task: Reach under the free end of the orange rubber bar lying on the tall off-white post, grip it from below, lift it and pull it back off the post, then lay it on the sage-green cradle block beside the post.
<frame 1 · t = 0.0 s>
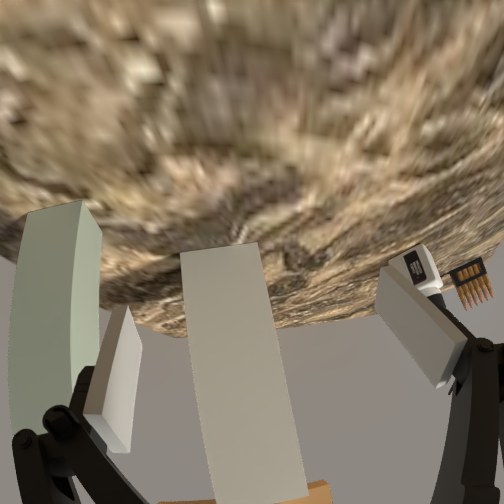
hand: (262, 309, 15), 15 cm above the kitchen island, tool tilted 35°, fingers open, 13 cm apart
cradle: (65, 222, 29), on the kitchen island
post: (220, 261, 44), on the kitchen island
bar: (241, 499, 28), point 32 cm above the kitchen island, touching post
ammunition clip: (464, 264, 71), on the kitchen island
container: (409, 255, 56), on the kitchen island
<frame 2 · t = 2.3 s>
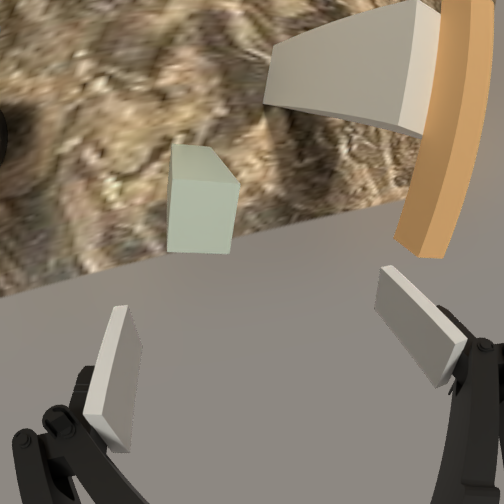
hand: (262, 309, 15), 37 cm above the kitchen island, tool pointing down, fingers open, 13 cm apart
cradle: (188, 167, 47), on the kitchen island
post: (292, 79, 44), on the kitchen island
bar: (442, 109, 18), point 32 cm above the kitchen island, touching post
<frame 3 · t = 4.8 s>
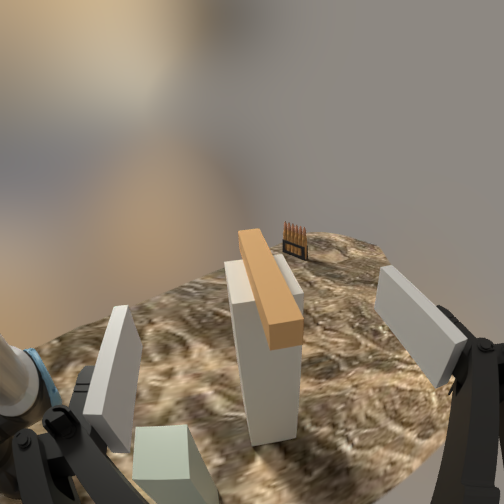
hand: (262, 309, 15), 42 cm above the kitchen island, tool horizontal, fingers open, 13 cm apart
post: (268, 421, 52), on the kitchen island
bar: (264, 286, 36), point 32 cm above the kitchen island, touching post
ammunition clip: (294, 255, 113), on the kitchen island
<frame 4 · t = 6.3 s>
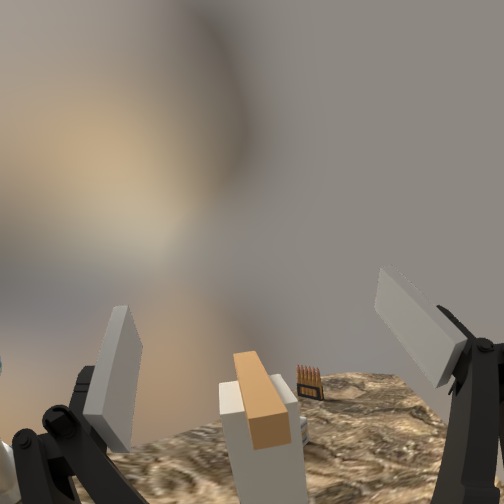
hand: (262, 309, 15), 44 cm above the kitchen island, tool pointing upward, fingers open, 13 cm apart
bar: (256, 399, 31), point 32 cm above the kitchen island, touching post
ammunition clip: (310, 397, 99), on the kitchen island
container: (289, 446, 68), on the kitchen island
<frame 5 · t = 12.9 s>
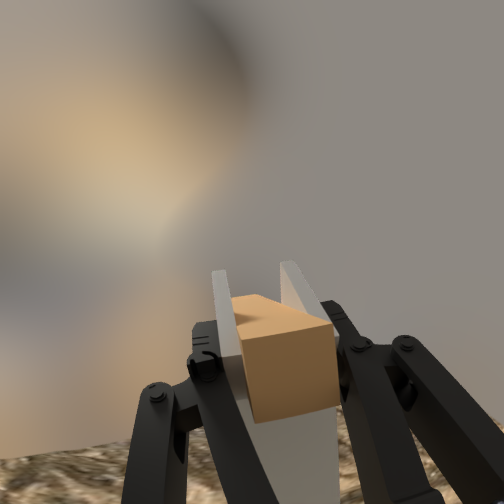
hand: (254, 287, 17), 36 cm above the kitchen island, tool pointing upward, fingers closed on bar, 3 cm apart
bar: (259, 349, 20), point 32 cm above the kitchen island, touching gripper, post
when the fingers open (27 cm above the kitchen island, at t = 20.7 s): bar stays where it is, resting on cradle.
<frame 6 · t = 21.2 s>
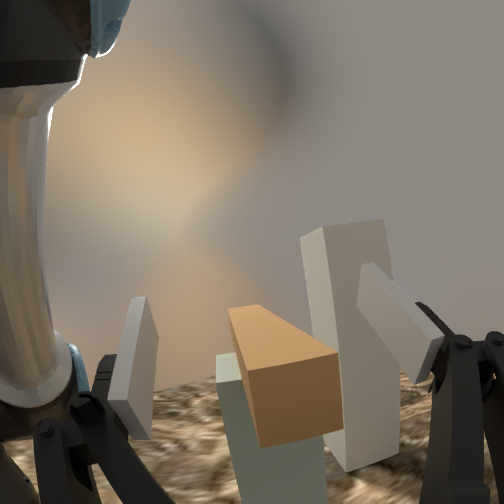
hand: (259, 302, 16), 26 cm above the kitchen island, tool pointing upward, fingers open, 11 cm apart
post: (359, 447, 37), on the kitchen island
bar: (261, 364, 20), point 22 cm above the kitchen island, touching cradle
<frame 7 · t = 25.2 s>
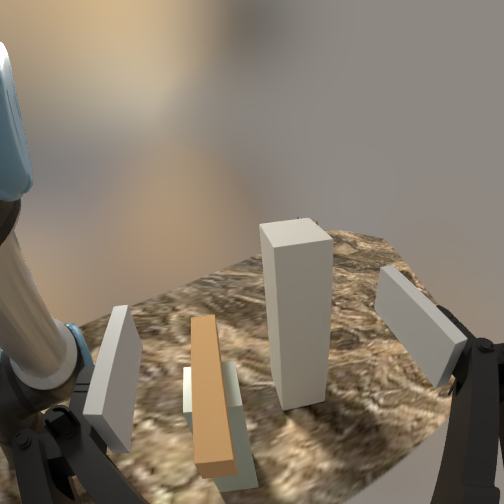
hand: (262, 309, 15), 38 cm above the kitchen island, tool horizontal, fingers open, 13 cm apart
cradle: (236, 472, 40), on the kitchen island
post: (297, 387, 57), on the kitchen island
bar: (211, 392, 30), point 22 cm above the kitchen island, touching cradle
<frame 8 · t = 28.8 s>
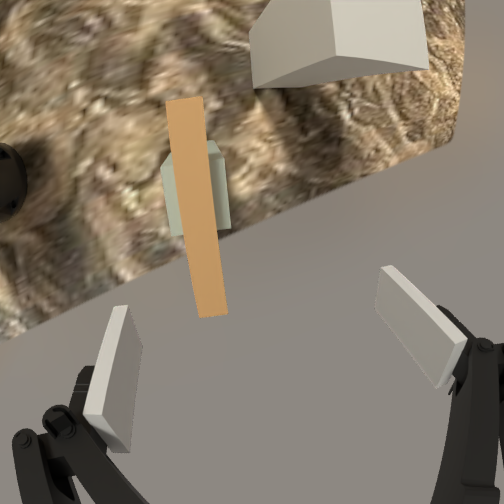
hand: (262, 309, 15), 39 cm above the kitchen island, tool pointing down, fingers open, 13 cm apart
cradle: (197, 163, 49), on the kitchen island
post: (275, 59, 43), on the kitchen island
bar: (198, 209, 30), point 22 cm above the kitchen island, touching cradle
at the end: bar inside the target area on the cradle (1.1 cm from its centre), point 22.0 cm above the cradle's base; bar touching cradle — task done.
